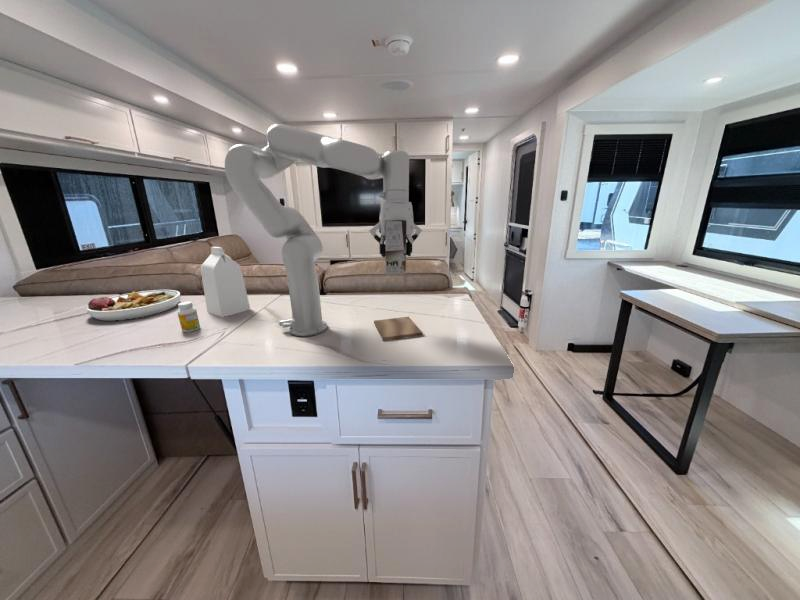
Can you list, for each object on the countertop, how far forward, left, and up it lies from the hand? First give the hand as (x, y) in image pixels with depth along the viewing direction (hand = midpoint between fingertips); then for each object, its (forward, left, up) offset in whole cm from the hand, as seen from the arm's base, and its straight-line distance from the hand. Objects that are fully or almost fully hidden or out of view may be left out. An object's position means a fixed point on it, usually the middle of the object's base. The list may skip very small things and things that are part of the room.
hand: (395, 255), depth 96 cm
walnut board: (0, 0, -25) cm, 25 cm away
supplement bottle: (-69, +23, -25) cm, 77 cm away
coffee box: (0, 0, -5) cm, 5 cm away
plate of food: (-98, +54, -26) cm, 115 cm away
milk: (-61, +41, -26) cm, 78 cm away
